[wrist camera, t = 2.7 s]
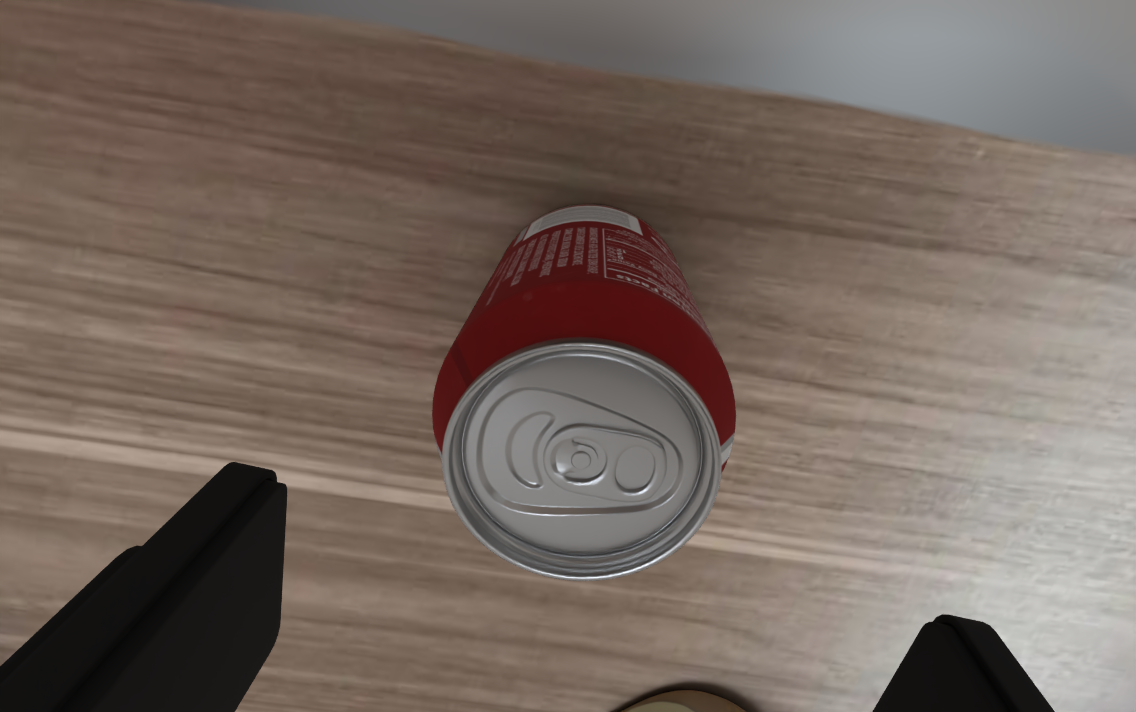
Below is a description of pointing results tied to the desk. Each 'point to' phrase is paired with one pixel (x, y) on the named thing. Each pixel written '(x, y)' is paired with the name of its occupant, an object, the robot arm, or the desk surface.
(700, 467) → the soda can
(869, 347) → the desk surface
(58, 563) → the desk surface
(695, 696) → the boat shoe
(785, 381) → the desk surface
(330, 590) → the desk surface
